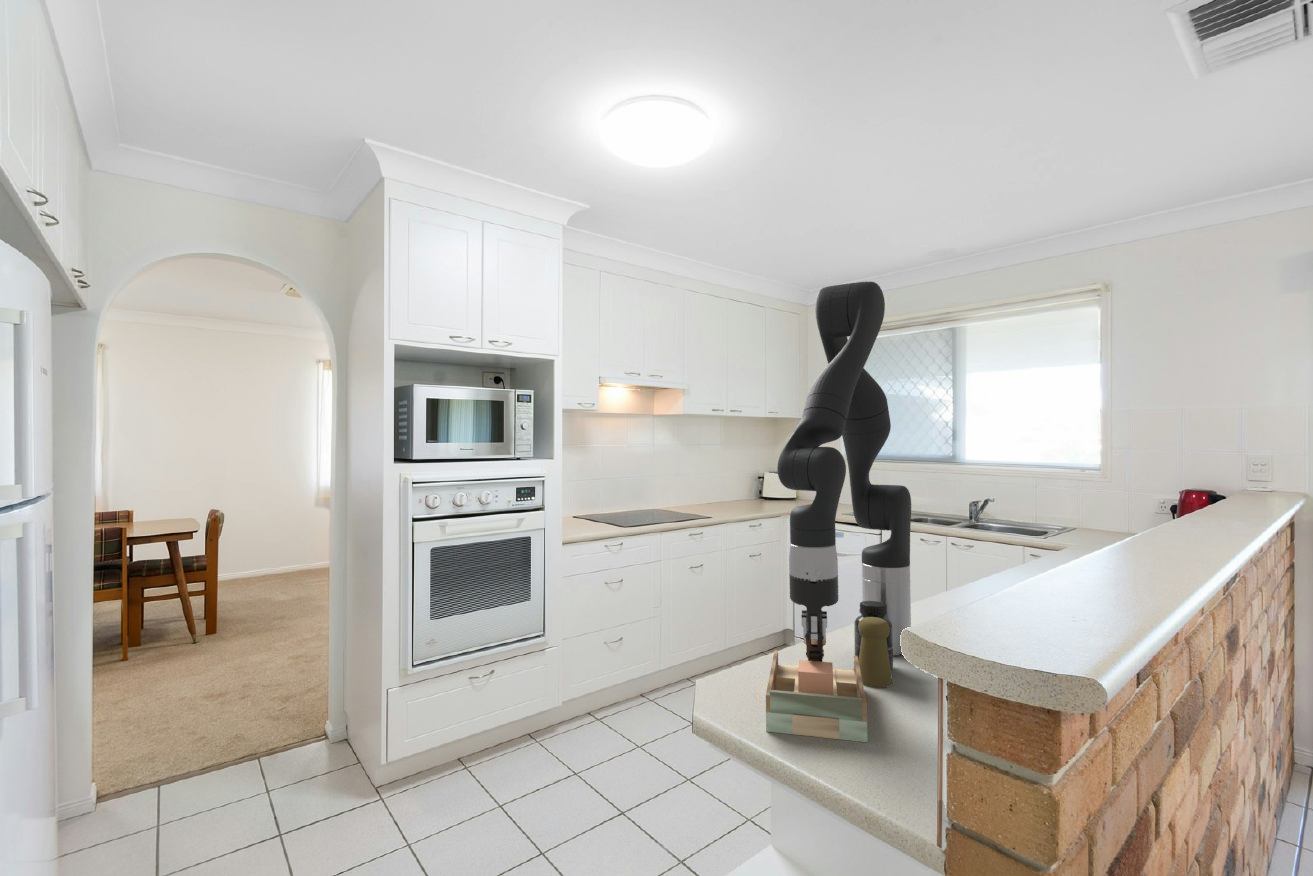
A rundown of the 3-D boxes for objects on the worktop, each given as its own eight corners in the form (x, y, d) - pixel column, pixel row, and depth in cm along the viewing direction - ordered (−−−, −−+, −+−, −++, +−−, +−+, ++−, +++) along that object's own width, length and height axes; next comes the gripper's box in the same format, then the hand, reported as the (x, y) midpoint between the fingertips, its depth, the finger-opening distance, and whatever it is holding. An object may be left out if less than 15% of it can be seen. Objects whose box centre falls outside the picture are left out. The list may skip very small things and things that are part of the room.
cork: (887, 675, 111) (886, 614, 111) (897, 688, 105) (896, 623, 105) (853, 674, 111) (852, 613, 112) (860, 687, 105) (859, 623, 106)
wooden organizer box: (774, 680, 109) (774, 647, 109) (857, 687, 106) (857, 653, 106) (766, 731, 90) (765, 691, 90) (867, 742, 86) (866, 700, 86)
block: (799, 692, 96) (799, 659, 96) (832, 695, 95) (832, 662, 95) (798, 705, 92) (798, 671, 92) (833, 708, 90) (833, 674, 90)
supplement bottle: (899, 675, 111) (898, 608, 111) (861, 675, 111) (860, 608, 111) (886, 661, 118) (885, 598, 118) (850, 661, 118) (849, 599, 118)
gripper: (791, 561, 105) (793, 662, 106) (787, 581, 93) (789, 695, 93) (836, 563, 104) (838, 665, 104) (839, 583, 91) (841, 699, 91)
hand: (815, 679), depth 98 cm, fingers closed
